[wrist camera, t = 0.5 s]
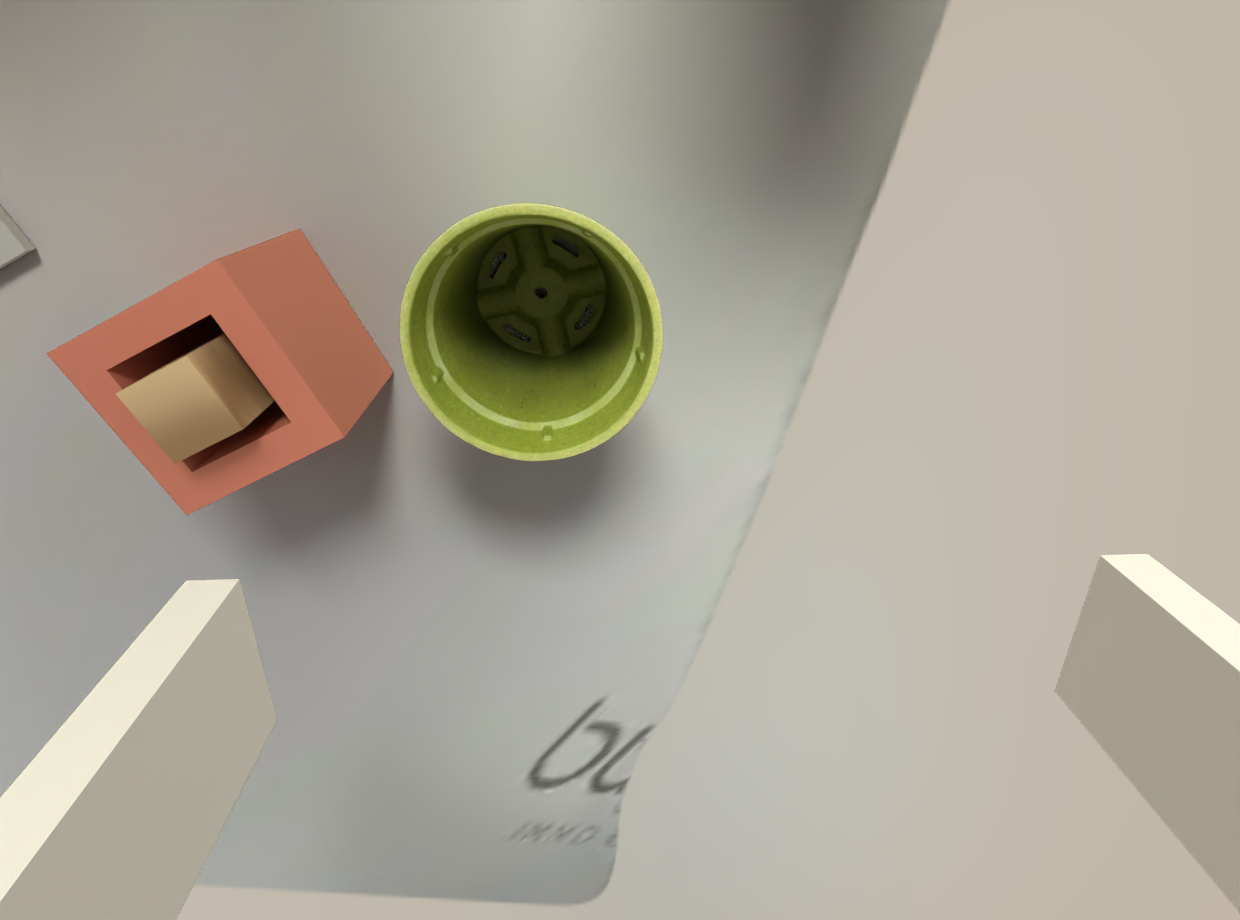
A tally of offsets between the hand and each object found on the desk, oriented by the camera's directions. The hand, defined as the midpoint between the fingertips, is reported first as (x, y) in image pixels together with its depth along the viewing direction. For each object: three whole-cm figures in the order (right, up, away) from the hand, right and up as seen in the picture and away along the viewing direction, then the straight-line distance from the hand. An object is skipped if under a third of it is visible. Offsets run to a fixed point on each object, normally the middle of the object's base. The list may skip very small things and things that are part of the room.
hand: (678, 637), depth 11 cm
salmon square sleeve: (-17, +8, +22) cm, 29 cm away
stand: (-17, +8, +22) cm, 29 cm away
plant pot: (-4, +11, +22) cm, 25 cm away
